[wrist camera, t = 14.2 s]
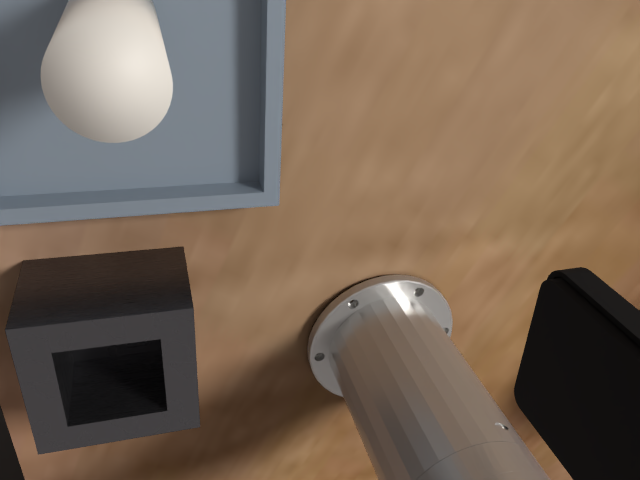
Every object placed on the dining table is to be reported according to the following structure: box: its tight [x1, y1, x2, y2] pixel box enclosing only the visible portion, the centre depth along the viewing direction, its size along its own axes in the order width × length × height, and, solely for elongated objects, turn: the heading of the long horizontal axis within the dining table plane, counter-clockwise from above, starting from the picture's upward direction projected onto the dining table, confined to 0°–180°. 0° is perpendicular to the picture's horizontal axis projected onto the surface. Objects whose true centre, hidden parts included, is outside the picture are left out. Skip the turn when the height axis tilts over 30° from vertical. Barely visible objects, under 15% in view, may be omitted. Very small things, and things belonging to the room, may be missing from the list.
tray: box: [0, 0, 286, 226], centre depth 31 cm, size 22×18×2 cm
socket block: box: [5, 247, 200, 454], centre depth 38 cm, size 10×10×7 cm
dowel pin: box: [41, 0, 173, 143], centre depth 26 cm, size 4×4×12 cm
